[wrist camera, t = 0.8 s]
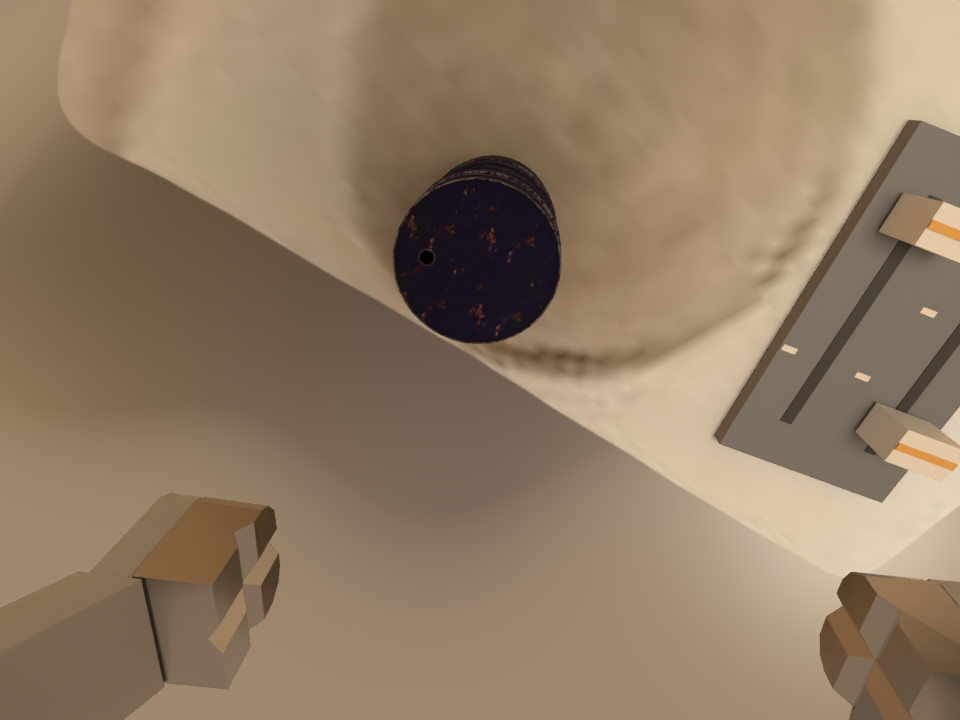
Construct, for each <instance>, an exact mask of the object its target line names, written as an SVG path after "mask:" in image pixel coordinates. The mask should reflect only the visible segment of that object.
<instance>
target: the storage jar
mask: <svg viewBox="0 0 960 720" xmlns="http://www.w3.org/2000/svg"><path fill="white" fill-rule="evenodd" d="M393 269H394V275H395V280H396V283H397V286H398V289H399V292H400V294H401V296H402V298H403V300H404V302H405V303H406V304H407V306H408V307H409V309H410V310H411V312H412V313H413V314H414V315H415V316H416V317H417V318H418V319H419V320H420V321H421V322H422V323H423V324H425V325H426V326H427V327H428V328H430V329H431V330H433V331H435V332H436V333H438V334H440V335H442V336H444V337H447V338H449V339H452V340H455V341H459V342H463V343H472V344H486V343H494V342H499V341H503V340H506V339H508V338H511V337H514V336H516V335H517V334H519V333H521V332H523V331H525V330H526V329H527V328H529V327H530V326H531V325H532V324H534V323H535V322H536V321H537V320H538V319H539V318H540V317H541V316H542V315H543V313H544V312H545V310H546V309H547V308H548V306H549V305H550V303H551V301H552V299H553V297H554V295H555V293H556V290H557V287H558V283H559V280H560V272H561V242H560V235H559V230H558V225H557V222H556V216H555V211H554V208H553V204H552V201H551V199H550V196H549V194H548V192H547V190H546V189H545V187H544V185H543V183H542V182H541V180H540V179H539V178H538V177H537V175H536V174H535V173H534V172H532V171H531V170H530V169H529V168H528V167H526V166H525V165H523V164H522V163H520V162H518V161H515V160H513V159H510V158H506V157H502V156H482V157H478V158H474V159H471V160H469V161H466V162H464V163H462V164H460V165H458V166H457V167H455V168H453V169H452V170H450V171H449V172H448V173H447V174H446V175H445V176H444V177H443V178H442V179H440V180H439V181H437V182H436V183H434V184H433V185H432V186H431V187H430V188H429V189H428V190H427V191H426V192H425V193H423V194H422V195H421V196H420V198H419V199H418V200H417V201H416V203H415V204H414V205H413V206H412V207H411V209H410V210H409V211H408V213H407V214H406V215H405V217H404V219H403V221H402V223H401V225H400V227H399V229H398V232H397V235H396V238H395V243H394V249H393Z"/></svg>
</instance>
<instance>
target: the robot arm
mask: <svg viewBox="0 0 960 720" xmlns="http://www.w3.org/2000/svg"><path fill="white" fill-rule="evenodd" d="M276 529H277V527H276V518H275V511H274V510H273V509H272V508H271V507H270V506H266V505H259V504H252V503H244V502H237V501H229V500H223V499H215V498H208V497H203V498H201V497H196V496H189V495H180V494H174V493H170V494H167V495H165V496H162V497H160V498H159V499H158V500H157V501H156V502H155V503H154V504H153V505H152V507H151V508H150V509H149V510H148V511H147V512H146V513H145V514H144V515H143V516H142V517H141V518H140V519H139V520H138V521H137V522H136V524H135V525H134V526H133V527H132V528H131V529H130V530H129V531H128V532H127V533H126V534H125V535H124V536H123V537H122V538H121V539H120V541H119V542H118V543H117V544H116V545H115V546H114V547H113V548H112V549H111V550H110V551H109V552H108V553H107V554H106V556H105V557H104V558H103V559H102V560H101V561H100V562H99V563H98V564H97V565H96V566H95V567H94V568H93V569H92V570H91V571H90V572H89V573H87V572H76V573H74V574H72V575H70V576H68V577H65V578H63V579H61V580H59V581H57V582H55V583H53V584H51V585H48V586H46V587H44V588H42V589H40V590H38V591H36V592H34V593H32V594H29V595H27V596H25V597H23V598H21V599H19V600H17V601H14V602H12V603H10V604H8V605H6V606H4V607H1V608H0V720H124V719H125V718H126V717H128V716H129V715H130V714H131V713H132V712H134V711H135V710H136V709H138V708H139V707H140V706H141V705H143V704H144V703H145V702H146V701H148V700H149V699H150V698H151V697H153V696H154V695H155V694H156V693H158V692H159V691H160V690H161V689H162V688H164V683H168V684H178V685H188V686H199V687H210V688H220V689H228V688H229V687H230V685H231V683H232V681H233V679H234V677H235V675H236V673H237V671H238V669H239V667H240V665H241V664H242V662H243V660H244V658H245V656H246V654H247V652H248V650H249V648H250V646H251V645H250V637H249V629H251V628H252V627H254V626H255V625H257V624H258V623H260V622H261V621H262V620H264V619H265V617H266V615H267V613H268V611H269V609H270V607H271V605H272V603H273V599H274V596H275V592H276V589H277V585H278V581H279V571H280V560H279V552H278V551H277V550H276V549H275V547H274V546H273V545H272V544H271V543H270V542H269V541H270V539H271V538H272V536H273V534H274V533H275V531H276ZM837 595H838V597H839V599H840V601H841V603H842V605H843V606H842V607H840V608H839V609H837V610H836V611H834V612H833V613H831V614H829V615H828V616H827V617H826V619H825V621H824V624H823V627H822V630H821V632H820V656H821V660H822V664H823V668H824V671H825V673H826V676H827V678H828V680H829V681H830V684H831V686H832V688H833V689H834V690H835V691H836V692H837V693H838V694H840V695H841V696H842V697H843V698H844V699H845V700H846V701H848V702H849V703H850V704H851V705H852V706H853V707H852V710H851V714H850V718H849V720H960V582H953V581H941V580H932V579H928V580H922V579H914V578H905V577H895V576H886V575H876V574H867V573H858V572H851V573H849V574H848V575H847V576H846V577H845V578H843V580H842V582H841V584H840V586H839V589H838V591H837Z"/></svg>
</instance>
